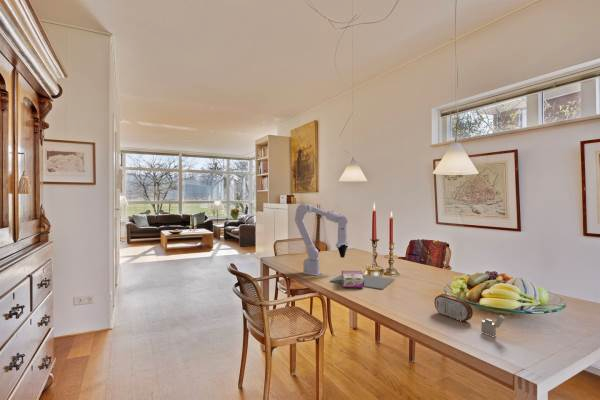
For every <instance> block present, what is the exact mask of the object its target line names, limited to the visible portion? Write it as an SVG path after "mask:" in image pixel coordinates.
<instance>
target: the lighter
mask: <svg viewBox="0 0 600 400" xmlns="http://www.w3.org/2000/svg"><path fill="white" fill-rule="evenodd" d="M505 319H506V317H505V316H504V315H502V314H500V315H498V317H497V319H496V320H495V321H494V322H493V320H492V319H489V318H484V320H481V325H480V327H481V332H483V333H486V334H489V335H491V336H495V335H496V336H497V328H500V327H501V325H502V324H503V322H504V321H505ZM491 336H490V337H491Z"/></svg>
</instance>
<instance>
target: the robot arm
mask: <svg viewBox="0 0 600 400" xmlns="http://www.w3.org/2000/svg"><path fill="white" fill-rule="evenodd" d="M307 213H308V214H309V213H314V214H317V215H320V216H323V217H325V219H326V220H327V221H329V222H333V223H335V224H337V243H335V248H337V249H338V252H339V253H338V254H339V256H340V258H341V259H342V258H343V259H344V258H345V256H346V252H347V250H348V247H349V246H348V245H349V244H350V243H349V240H348V228H347V227H348V225H347V224H348V219H347V217H346V216H345V215H342V214H341V213H337V212H335V211H334V210H327V211H326V210H324V209H321V208H319V207H317V206H314V205H311V204H306V203H300V204H299V205H298V206H297V208H296V210H295V215H294V216H295V217H294V222H295V224H296V226H297V229H298V232H299V233H300V236H301V238H302V240H303V242H304V245H305V247H306V251H307V257H308V258H305V259H304V261H303V265H302V266H303V272H302V274H303V275H307V276H308V275H310V276H318V275H320V274H322V273H323V272H322V271H320V258H319V254H320V252H319V249H318V248H316V246H315V244H314V241H312V238H311V236H310V233H309V230H308V228H307V227H306V224H305V221H304V218H305V216H306V214H307Z"/></svg>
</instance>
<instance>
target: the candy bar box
mask: <svg viewBox="0 0 600 400" xmlns="http://www.w3.org/2000/svg"><path fill="white" fill-rule="evenodd" d="M341 275H342V283H343V284H342V283H341V284H342V287H343V288H365V287H364V277H363V275H364V274H363V273H362V271H361V270H341Z"/></svg>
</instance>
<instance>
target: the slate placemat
mask: <svg viewBox="0 0 600 400" xmlns="http://www.w3.org/2000/svg"><path fill="white" fill-rule="evenodd" d="M362 275H363V277H364V288H369V289H373V290H374V289H376V290H381V291H382V290H384V289H386V288H387V287H388V286H390V284H392V282H394V281H395V278H391V277H384V276H375V275H370V274H369V275H366V274H362ZM329 282H330V283H335V284H336V283H337V284H342V285H343V283H342V274H339V275H338V276H337V277H335V278H333V279H331V280H329Z"/></svg>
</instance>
